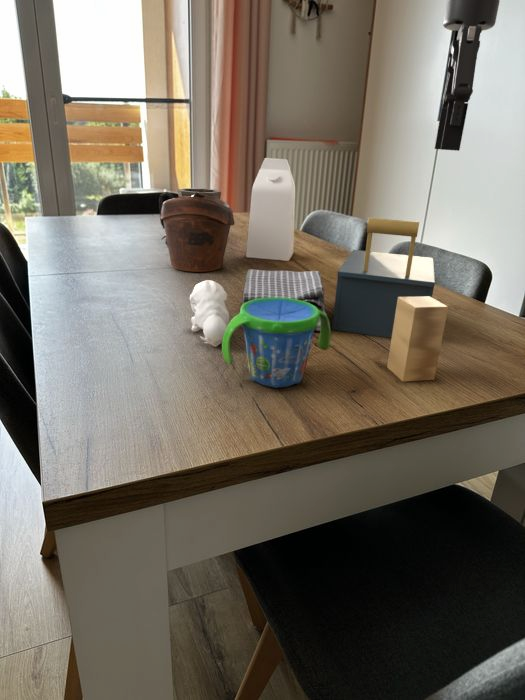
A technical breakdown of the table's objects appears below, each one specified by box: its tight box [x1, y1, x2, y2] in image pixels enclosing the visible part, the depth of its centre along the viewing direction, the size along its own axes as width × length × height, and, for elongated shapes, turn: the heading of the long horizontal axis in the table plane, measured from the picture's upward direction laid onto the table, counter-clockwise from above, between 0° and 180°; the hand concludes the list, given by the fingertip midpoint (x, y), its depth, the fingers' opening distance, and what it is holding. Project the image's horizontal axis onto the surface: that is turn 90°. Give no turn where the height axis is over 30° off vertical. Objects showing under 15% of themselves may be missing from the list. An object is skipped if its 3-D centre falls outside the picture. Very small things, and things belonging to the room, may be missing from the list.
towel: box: [241, 268, 328, 332], centre depth 96 cm, size 15×18×8 cm
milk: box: [245, 157, 296, 262], centre depth 143 cm, size 12×12×26 cm
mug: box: [158, 187, 222, 230], centre depth 162 cm, size 20×14×15 cm
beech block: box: [386, 296, 449, 383], centre depth 73 cm, size 5×5×11 cm
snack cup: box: [221, 298, 332, 389], centre depth 70 cm, size 16×10×10 cm
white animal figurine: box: [189, 279, 230, 348], centre depth 83 cm, size 6×8×12 cm
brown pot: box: [159, 193, 235, 273], centre depth 127 cm, size 18×20×18 cm
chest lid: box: [336, 217, 436, 288], centre depth 92 cm, size 21×16×10 cm
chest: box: [331, 276, 435, 339], centre depth 96 cm, size 20×16×10 cm
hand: (445, 150), depth 85 cm, fingers open, 13 cm apart
